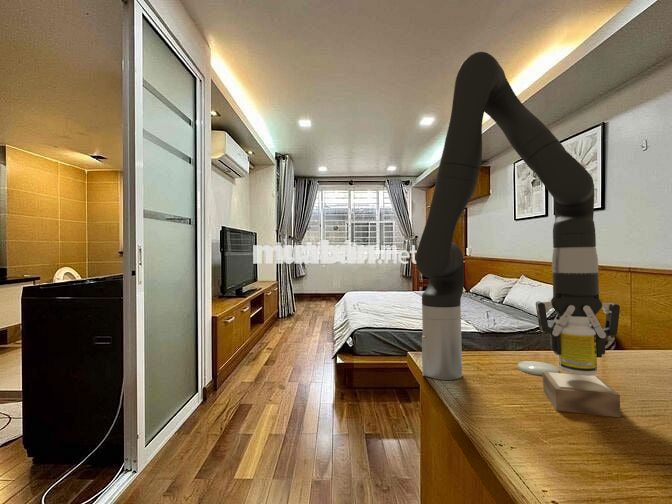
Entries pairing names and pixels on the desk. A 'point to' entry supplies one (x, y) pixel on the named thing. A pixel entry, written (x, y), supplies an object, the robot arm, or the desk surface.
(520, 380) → the desk surface
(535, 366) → the pale white disc
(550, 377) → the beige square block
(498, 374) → the desk surface
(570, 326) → the pill bottle
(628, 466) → the desk surface
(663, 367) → the desk surface
